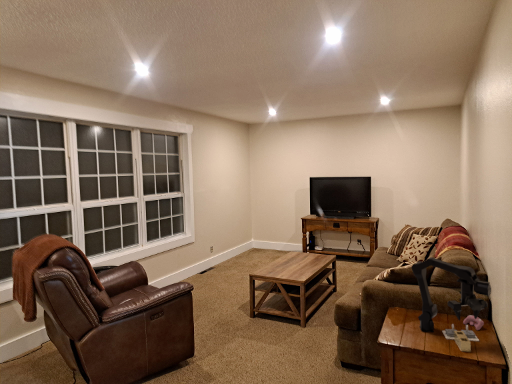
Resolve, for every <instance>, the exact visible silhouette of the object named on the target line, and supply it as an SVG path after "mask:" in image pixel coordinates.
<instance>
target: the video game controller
mask: <svg viewBox="0 0 512 384" xmlns="http://www.w3.org/2000/svg"><path fill="white" fill-rule="evenodd" d="M462 323H463V325H468V323H469V325H470V326H474V327H475V330H476V331H480V330H481V328H482V327H483V326H484V324H485V322H484V321H483V320H482V319H481V318H480V317H477V319H475V318H474V315H473V314H472V315H470V314H469V315H467V317H466V318H464V319H463V322H462Z"/></svg>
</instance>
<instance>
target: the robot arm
mask: <svg viewBox="0 0 512 384" xmlns="http://www.w3.org/2000/svg"><path fill="white" fill-rule="evenodd" d="M431 266H432V267H434V268H437V269H439V270H444V271H446V272H449V273H452V274H453V275H455V276H457V277H458V279H457V280H456V282H457V283H460V291H459V292H458V293H459V294H460V298H459V299H458V300H459V301H460V302H458V301H457V300H448V301H447V307H450V309H452V310H453V312H454V314H455V316H456V318H457V320H458V321H460V320H461V312H462V307H468V308H469V307H470V309H471V310H472V312H473V316H474V318H475V319H477V317H478V316H479V314H480V312H481V310H485V308H488V301H485V300H484V299H483V298H477V297H476V296H477V295H483V296H486V297H490V296H491V293H492V286H491V283H490V282H489V281H482V280H480V278H479V277H478V276H477V274H476V271H475V270H474V268H472V267H470V266H465V265H457V264H453V263H450V262H447V261H444V260H440V259H438V258H435V257H433V256H431V257H428V258H427V259H425V260H423V261H421V260H420V261H417V262H415V263H413V264H412V265H411V270H412V271H411V272H412V273H413V275H414V277H415V278H416V279H417V284H418V288H419V293H420V297H421V301H422V307H421V311H422V312H421V314H420V315H419V316H418V317H417V319H418V321H419V329H420V331H421V332H425V333H434V330H435V323H434V321H433V319H434V318H435V317H436V316H437V315H438V312H439V310H438V308H437V304H436V303H433V302H432V298H431V293H430V289H429V286H428V285H429V284H428V282H427V277H426V276H427V268H428V267H431ZM475 293H476V294H477V295H476V294H475ZM478 318H479V317H478Z"/></svg>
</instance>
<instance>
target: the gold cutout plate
mask: <svg viewBox="0 0 512 384" xmlns="http://www.w3.org/2000/svg"><path fill="white" fill-rule="evenodd" d="M453 340H454V342H455V344H456V345H457V347H458V349H459V350H460V352H468V353H471V352H472V350H471V347H472V345H471V342H472V341H469V339H468V338H467V336H466V335H465V334H464V332H463V331H461V330H457V331H454V339H453Z"/></svg>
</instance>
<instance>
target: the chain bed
mask: <svg viewBox="0 0 512 384" xmlns="http://www.w3.org/2000/svg"><path fill="white" fill-rule="evenodd" d="M454 331H458V330H457V329H455V324H454V323H452V324H451V328H445V330H441V332H442V334H443V335H444V337H445V339H446V340H454ZM460 331H463V332H464V334H465V335H466V336H467V338H468V339H469V341H470V342H480V339H479V338H478V336H477V335H476V333H475V332H474V331H473V330H469V325H468V324H465V329H461V330H460Z"/></svg>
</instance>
